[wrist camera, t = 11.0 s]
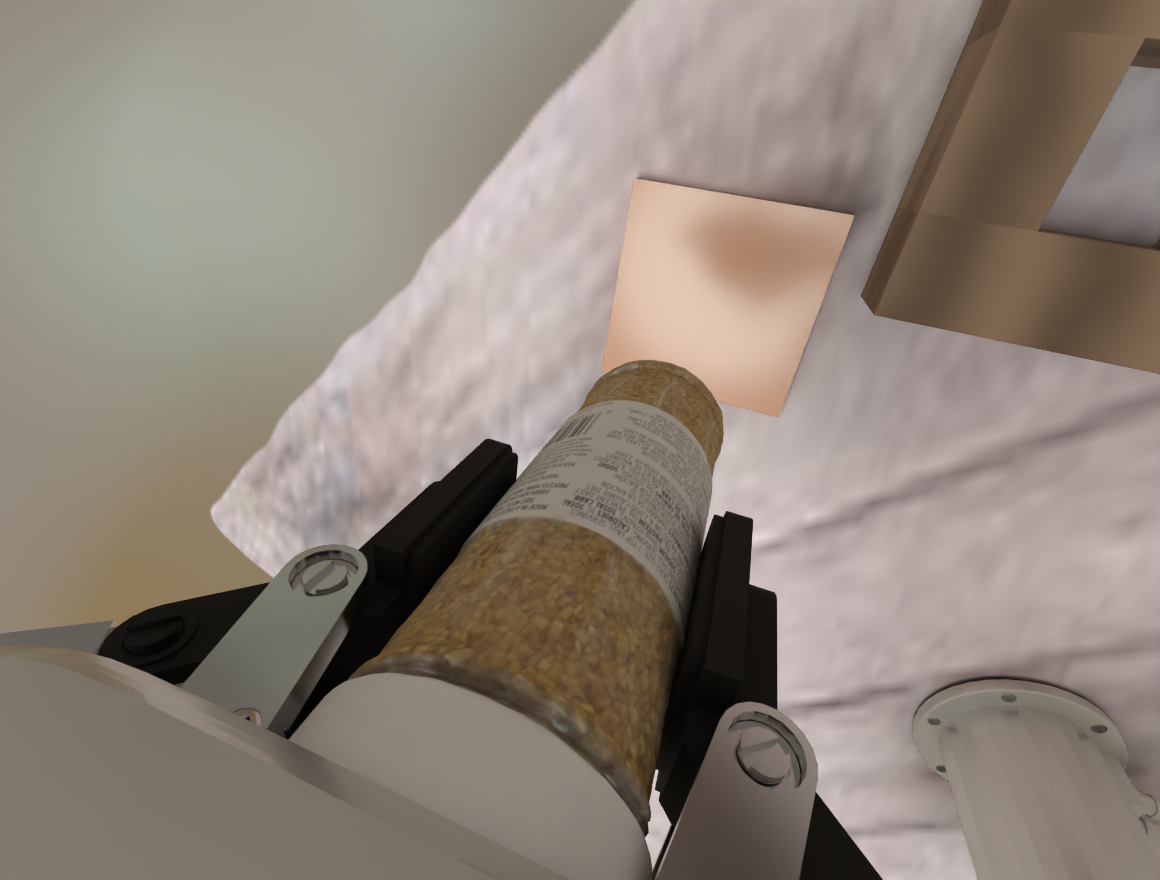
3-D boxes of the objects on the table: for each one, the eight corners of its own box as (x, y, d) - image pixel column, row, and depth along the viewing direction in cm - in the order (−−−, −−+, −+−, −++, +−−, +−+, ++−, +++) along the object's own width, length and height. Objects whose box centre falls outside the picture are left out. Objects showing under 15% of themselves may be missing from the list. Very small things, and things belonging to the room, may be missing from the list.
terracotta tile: (852, 214, 27) (854, 215, 26) (778, 411, 33) (778, 417, 32) (637, 178, 30) (633, 178, 29) (605, 366, 36) (601, 371, 35)
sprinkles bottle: (623, 498, 18) (366, 1061, 6) (561, 385, 17) (112, 838, 5) (751, 461, 16) (699, 1210, 4) (690, 328, 14) (398, 887, 3)
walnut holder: (1550, -72, 17) (1767, -141, 13) (1198, 363, 25) (1273, 397, 22) (1022, -94, 21) (1078, -153, 17) (860, 296, 29) (874, 314, 25)
